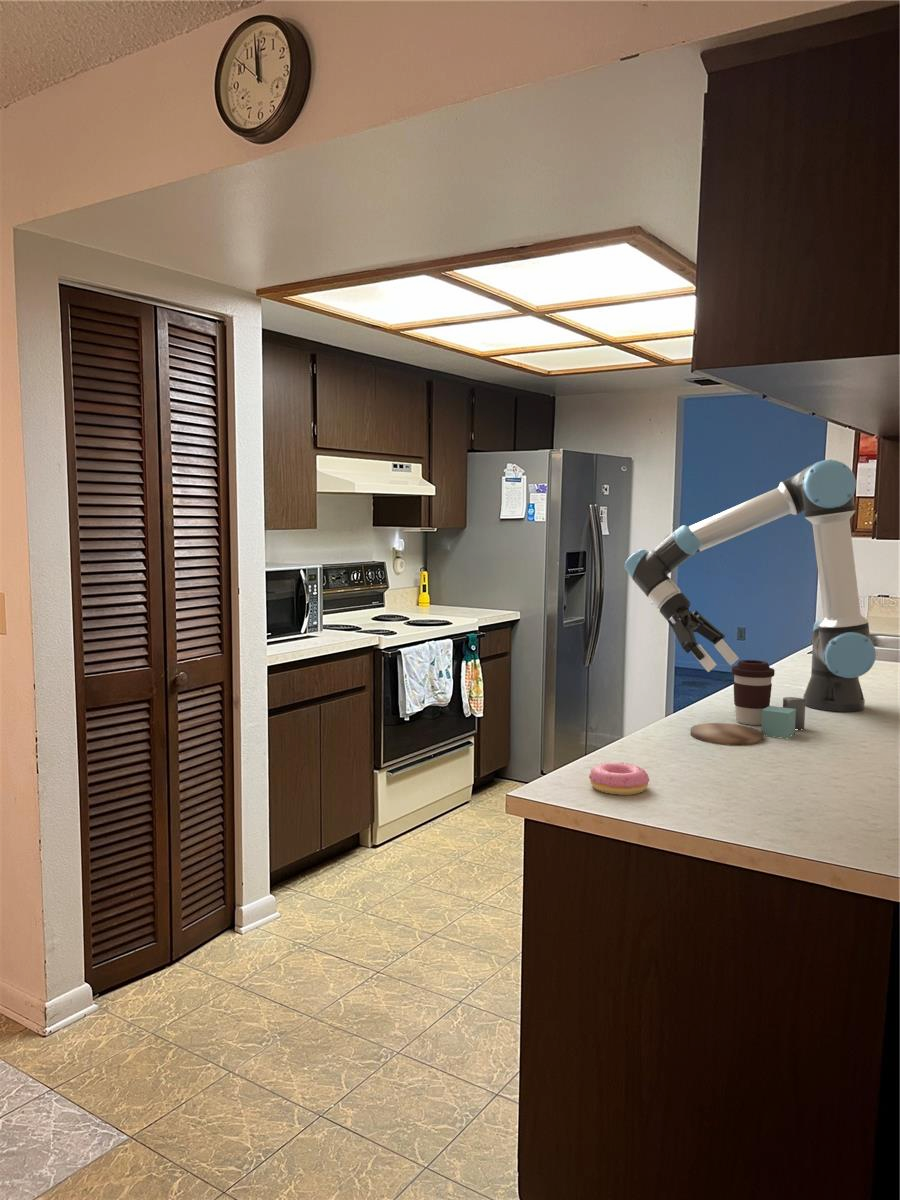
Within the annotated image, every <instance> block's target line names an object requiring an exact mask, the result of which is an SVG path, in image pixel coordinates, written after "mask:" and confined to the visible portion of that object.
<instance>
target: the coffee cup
mask: <svg viewBox="0 0 900 1200" xmlns="http://www.w3.org/2000/svg"><path fill="white" fill-rule="evenodd" d="M775 672H776V671H775V668H772V667H770V665H769V663H768V662H767V661H763V660H757V659H743V660H739V661H738V662H737V664H736V665H734V666H732V667H731V675H734V676H733V678H734V680H733V703H734V709H735V710H734V711H735V721H736V722H737V723H739V724H743V725H747V724H748V725H749V726H761V722H762V710H763V709H765V708H766V707H768V706H771V705H770V703H771V696H772V695H771V694H772V687H773V684H772V679H773V678H774V676H775ZM772 677H773V678H772Z"/></svg>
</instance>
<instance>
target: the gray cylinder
mask: <svg viewBox="0 0 900 1200" xmlns="http://www.w3.org/2000/svg"><path fill="white" fill-rule="evenodd" d="M805 702H806V700H805V699H803V698H802V697H796V696H795V697H794V696H793V697H792V696H786V697H783V698H782V707H784V708H792V709H796V719H795V729H798V730H799V731H802V730H801V729H804V730H805V724H806V723H805V720H806V719H805V718H806V705H805Z"/></svg>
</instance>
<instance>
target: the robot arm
mask: <svg viewBox="0 0 900 1200" xmlns="http://www.w3.org/2000/svg"><path fill="white" fill-rule="evenodd" d="M856 487H857V482H856V477H855V474H854V472H853V470H852V469H851V468H850V467H849V466H848V465H847V464H845V462H844V463H843V462H841V461H839V460H834V459H824V460H819V461H817V462H815V463H813V464H810V465H808V466H807V467H805V468H804V469H802V470H801V471H799V472H798V473H796V474H794V475H793V476H791V477H789V478H787V479H784V480H782V481H780V482H779V485H778V487H776V488H774V489H772V490H769V491H767V492H765V493H762V494H760V495H757V496H755V497H753V498H750V499H749V500H746V501H744V502H742V503H740V504H737V505H735V506H733V507H731V508H728V509H726V510H724V511H720V513H717V514H714V515H712V516H710V517H708V518H704V519H702V520H701V521H698V522H696V523H694V524H690V525H689V526H687V525H686V524H685V525H683V524H682V525H681V526H680V527H678V528H677V529H675V530H674V531H673V532H672V533H670V534H668V535H666V536H665V537H664V538H663V540H662V541H661V542H660V543H659V544H658V545H657V546H656V547H654V548H653V549H652V550H650V551H647V549H644V548H642V549H638V550H637V551H636V552H634V553H632V554H631V555H630V556H629V557H628V558H627V559H626V561H625V562H624V570H625V571H626V572H627V574H628V575H629V576H630V578H631V579H632V581H634V583H635V584H636V585H637V587H638V588H640V590H641V591H642V592H643V594H644V595H645V596H646V597H647V598H648V599H649V600H650V604H651V605H654V607H655V608H656V609H658V610H659V613H660V614H661V615H662V616H663V617H664V619H665V620H666V621H667V623H668V624H669V625H670V627H671V628H672V631H673V632H674V634H675V636H676V638H677V640H678V642H679V644H680V647H681V648H682V650H684V651H685V652H686V654H689V653H690V652H691V653H692V655H693V656H694V657H695V659H696V660H698V662H699V664H700V665H702V667H703V668H704V670H705V671H706V672H707V673H709V672H711V671H712V670H713V669H714V668H715V667H717V665H718V664H717V663H716V662H715V661H714V659H713V658H712V657H711V656H710V655H709V654H708V652H707V651H706V649H704V648H703V646H702V645H701V644H699V643H698V642H697V640H696V639H697V638H696V637H695V633H697V634H699V635H700V636H702V637H703V638H705V639H706V640H708V641H710V642H711V643H712V644H714V648H715V649H716V650H717V651H718V652H719V653H720V655H721V656H722V657H723V658H724V660H725V662H727V663H728V665H729V666H733V664H735V663H736V662H737V661H738V660H740V658H739V656H738V655H737V654H736V653H735V651H733V649H732V648H731V647H730V646H729V645H728V643H726V641H725V640H724V639H725V637H726V635H725V634H723V632H721V631H720V630H719V629H718V628H717V627H715V626H714V625H713V624H712V623H711V622H710V621H708V620H707V619H706V618H705V617H703V616H702V615H701V613H700V612H699V611H698V610H694V611H693V612H692V611H691V610H690V609H689V608H690V607H691V604H692V603H691V601H690V600H689V598H687V596H686V595H685V594H684V593H683V592H681V589H680V588H679V586H677V585H676V583H675V582H674V581H673V580H672V579H671V578H670V577H669V574H670V573H672V572H673V571H674V570H675V569H676V568H677V567H679V566H680V565H681V564H683V563H684V562H685V561H687V560H688V558H690V557H691V556H694V555H695V554H697V553H700V552H702V551H704V550H706V549H709V548H713V547H714V546H716V545H718V544H721V543H723V542H726V541H728V540H731V539H732V538H733V539H734V538H735V537H739V536H740V535H742V534H745V533H747V532H750V531H752V530H755V529H757V528H759V527H762V526H764V525H767V524H768V523H771V522H773V521H775V520H778V519H780V518H782V517H785V516H787V515H794V516H797V515H799V514H802V513H804V519H805V520H806V521H808V522H810V523H811V525H812V530H813V531H812V533H813V541H814V548H815V549H814V550H815V557H816V558H815V559H816V564H817V574H818V581H819V590H820V597H821V598H820V599H821V606H822V615H823V616H822V617H823V618H822V619H819V620H816V621H815V622H814V623H813V629H812V651H811V654H812V655H811V672H810V673H811V675H810V678H809V681H808V683H807V686H806V689H805V692H804V693H803V698H802V699H805V700H806V702H805V707H808V708H811V709H816V710H821V711H829V712H830V711H831V712H858V711H859V712H861V711H863V710H864V709H865V704H866V703H865V701H866V700H865V697H864V694H863V690H862V687H861V684H860V679H859V678H860V677H861V676H863V675H866V673H868V672H869V671H870V670H871V669H872V667H873V666H874V665H875V662H876V658H877V654H876V647H875V645H874V643H873V641H872V640H871V634H870V633H871V632H870V625H869V620H868V619H867V618H866V617H865V616H863V615H862V613H861V606H860V598H859V590H858V582H857V580H858V579H857V572H856V564H855V556H854V555H855V553H854V547H853V538H852V529H851V523H850V521H851V520H850V519H851V517H853V515H854V514H855V513H856V506H855V498H854V495H855V491H856Z"/></svg>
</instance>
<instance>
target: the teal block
mask: <svg viewBox="0 0 900 1200" xmlns="http://www.w3.org/2000/svg"><path fill="white" fill-rule="evenodd" d="M795 719H796V709H792V708H784V707H783V706H774V705H770V706H768V707H766V708H765V709H763V710H762V722H761V725H760V727H761V729H760V731H762V732H763V734H764V735H765V736H764V737H769V736H775V737H774V738H776V737H782V738H781V739H783V738H789V737H790V736H791V735H793V734H794V733H795V734H796V730H795ZM795 734H794V735H795ZM766 735H767V736H766ZM794 735H793V736H794ZM791 737H792V736H791ZM791 737H790V738H791ZM790 738H789V739H790Z"/></svg>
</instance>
